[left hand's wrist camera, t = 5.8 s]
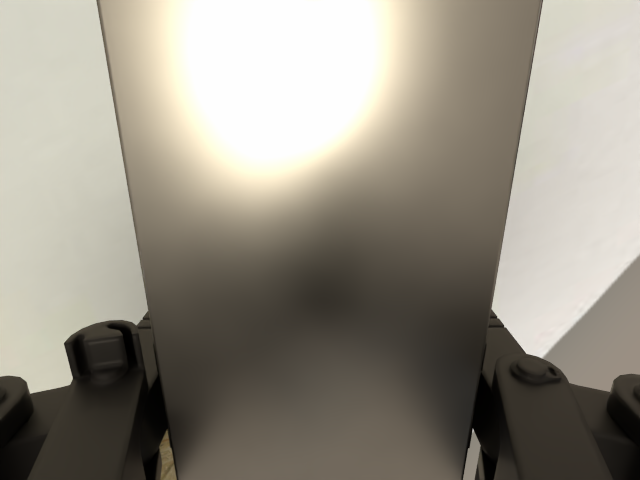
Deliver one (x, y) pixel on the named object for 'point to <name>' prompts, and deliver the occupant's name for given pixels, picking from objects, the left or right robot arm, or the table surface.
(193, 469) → the bar
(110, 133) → the table surface
